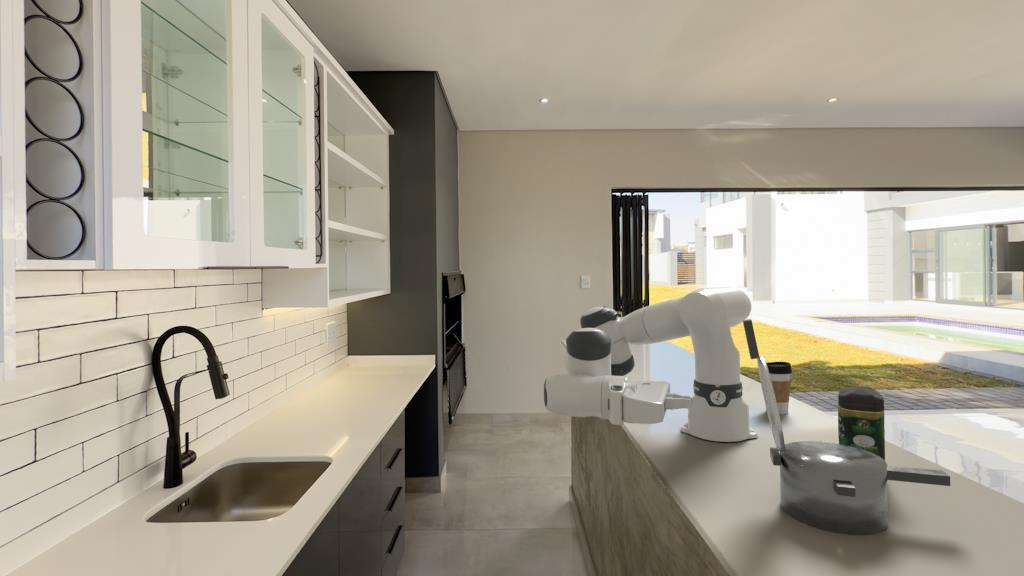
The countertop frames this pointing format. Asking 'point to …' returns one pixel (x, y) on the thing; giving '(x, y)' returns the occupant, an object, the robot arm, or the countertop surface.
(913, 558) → the countertop surface
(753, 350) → the lid
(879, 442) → the coffee jar
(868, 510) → the pot
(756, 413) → the countertop surface
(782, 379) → the coffee cup
